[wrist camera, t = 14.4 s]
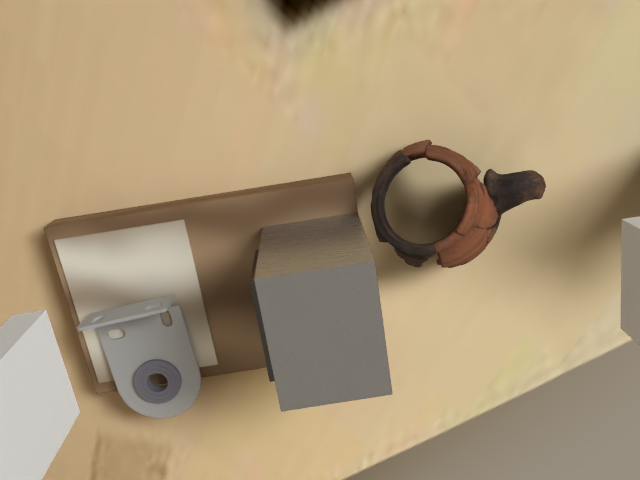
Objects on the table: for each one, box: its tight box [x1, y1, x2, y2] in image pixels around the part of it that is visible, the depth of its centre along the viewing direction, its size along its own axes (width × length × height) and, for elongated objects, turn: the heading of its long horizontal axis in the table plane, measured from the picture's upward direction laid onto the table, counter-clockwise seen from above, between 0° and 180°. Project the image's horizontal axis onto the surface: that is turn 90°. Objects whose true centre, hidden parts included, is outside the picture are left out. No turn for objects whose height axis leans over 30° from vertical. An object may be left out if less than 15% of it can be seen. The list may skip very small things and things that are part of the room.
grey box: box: [250, 212, 392, 412], centre depth 41 cm, size 9×8×10 cm
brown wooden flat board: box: [44, 173, 357, 394], centre depth 46 cm, size 14×22×2 cm, turn 99°
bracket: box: [77, 294, 201, 418], centre depth 45 cm, size 7×10×4 cm, turn 13°
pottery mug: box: [371, 140, 546, 268], centre depth 43 cm, size 12×10×8 cm
